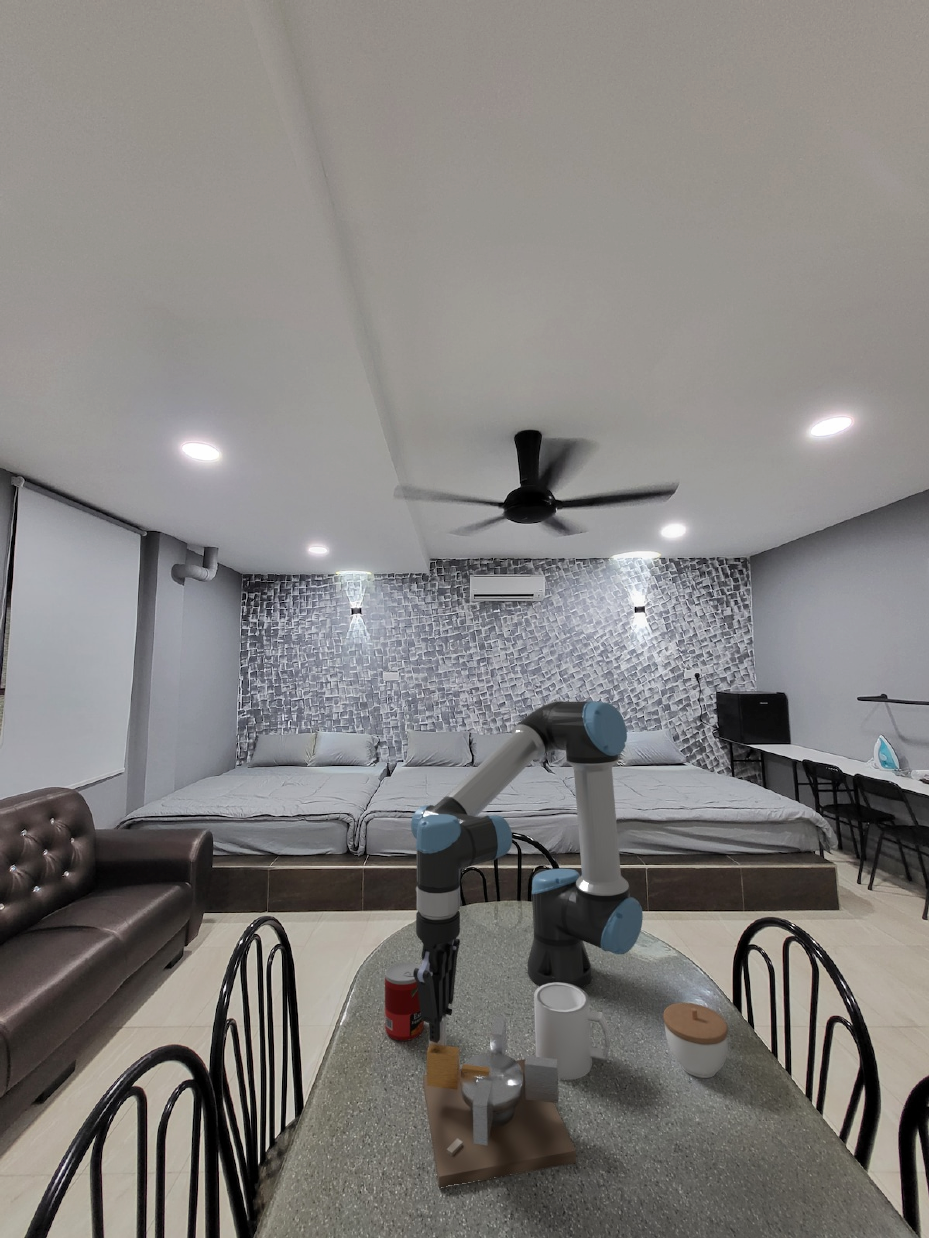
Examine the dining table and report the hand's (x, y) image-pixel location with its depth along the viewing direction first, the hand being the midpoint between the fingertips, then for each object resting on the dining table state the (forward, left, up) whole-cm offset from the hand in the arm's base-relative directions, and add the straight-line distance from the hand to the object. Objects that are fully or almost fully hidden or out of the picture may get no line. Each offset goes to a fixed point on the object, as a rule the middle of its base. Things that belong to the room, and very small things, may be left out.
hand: (437, 1057), depth 89 cm
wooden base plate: (-8, +5, -7) cm, 12 cm away
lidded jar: (-47, +1, -7) cm, 48 cm away
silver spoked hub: (-8, +5, -3) cm, 10 cm away
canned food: (+4, -21, -7) cm, 22 cm away
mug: (-25, -5, -7) cm, 26 cm away
